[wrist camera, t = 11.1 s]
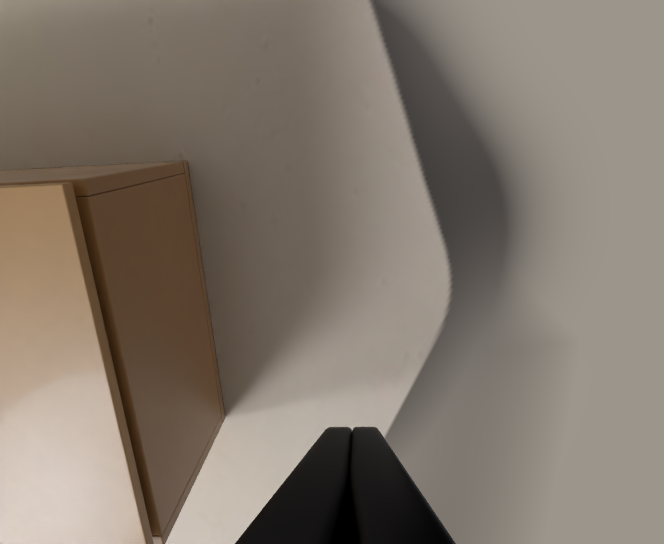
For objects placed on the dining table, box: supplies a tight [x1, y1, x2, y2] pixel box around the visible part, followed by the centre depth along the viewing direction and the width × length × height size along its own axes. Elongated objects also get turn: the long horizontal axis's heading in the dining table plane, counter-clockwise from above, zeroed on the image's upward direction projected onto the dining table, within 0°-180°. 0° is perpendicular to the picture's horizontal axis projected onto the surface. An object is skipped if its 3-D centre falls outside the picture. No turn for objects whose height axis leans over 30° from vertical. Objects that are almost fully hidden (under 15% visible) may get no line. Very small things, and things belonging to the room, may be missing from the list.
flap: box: [0, 182, 154, 544], centre depth 14 cm, size 7×13×1 cm, turn 3°
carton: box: [0, 161, 225, 544], centre depth 18 cm, size 14×13×8 cm
